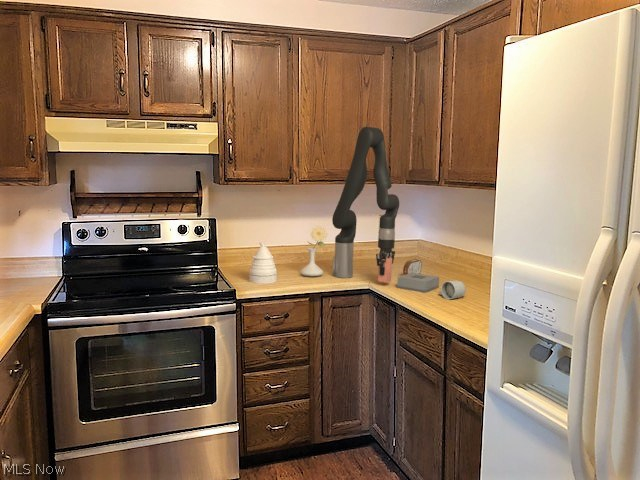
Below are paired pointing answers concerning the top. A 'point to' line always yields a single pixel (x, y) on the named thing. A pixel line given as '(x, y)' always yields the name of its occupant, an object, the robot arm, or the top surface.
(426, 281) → the socket block
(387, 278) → the plug
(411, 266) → the tin
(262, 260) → the honey pot
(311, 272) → the flower in vase
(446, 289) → the ceramic mug
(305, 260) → the top surface
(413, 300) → the top surface
